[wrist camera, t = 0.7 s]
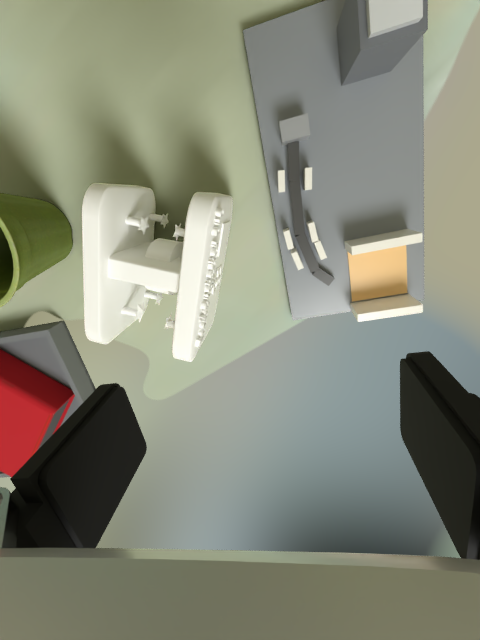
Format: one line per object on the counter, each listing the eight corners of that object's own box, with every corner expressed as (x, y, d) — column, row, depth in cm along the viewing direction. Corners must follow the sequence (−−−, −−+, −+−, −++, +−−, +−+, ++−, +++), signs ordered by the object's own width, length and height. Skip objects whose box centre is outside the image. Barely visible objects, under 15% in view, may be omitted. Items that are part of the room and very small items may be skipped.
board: (244, 36, 27) (237, 6, 22) (416, -25, 24) (445, -73, 19) (292, 316, 36) (293, 332, 32) (419, 296, 33) (440, 311, 29)
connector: (336, 28, 25) (357, -38, 18) (388, 10, 24) (432, -66, 17) (341, 86, 26) (362, 46, 19) (390, 71, 25) (431, 24, 18)
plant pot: (-7, 251, 38) (-116, 271, 28) (10, 157, 33) (-113, 140, 23) (78, 297, 39) (4, 334, 29) (106, 213, 34) (30, 221, 24)
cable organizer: (145, 177, 32) (77, 168, 22) (241, 197, 32) (219, 197, 21) (138, 305, 38) (82, 347, 28) (218, 323, 38) (193, 374, 27)
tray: (-91, 348, 46) (-115, 358, 43) (64, 320, 40) (47, 329, 38) (-12, 464, 54) (-27, 478, 52) (126, 455, 49) (116, 470, 46)
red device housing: (-11, 339, 43) (-46, 356, 38) (77, 390, 44) (54, 412, 40) (-33, 417, 50) (-65, 439, 45) (44, 459, 51) (21, 484, 47)
